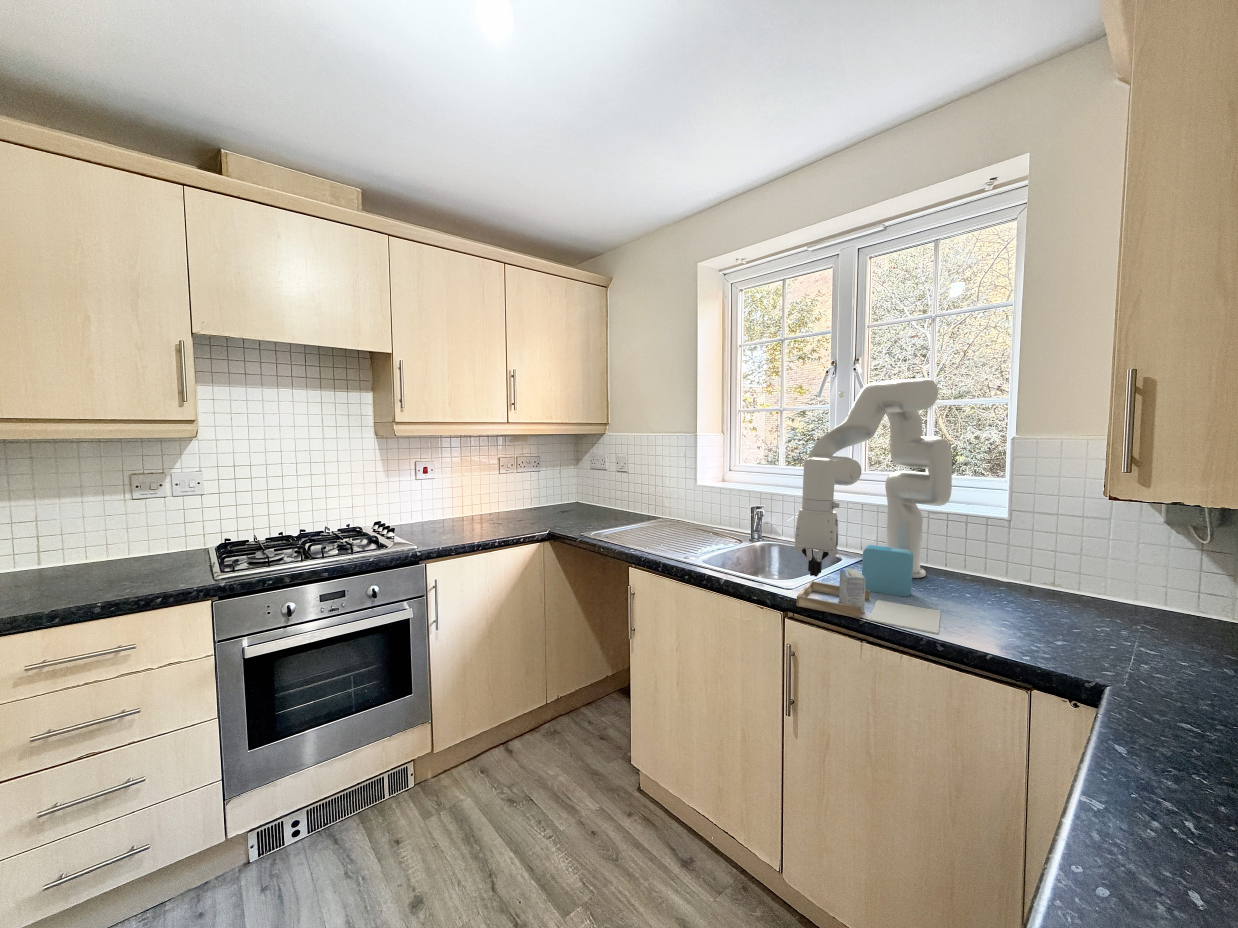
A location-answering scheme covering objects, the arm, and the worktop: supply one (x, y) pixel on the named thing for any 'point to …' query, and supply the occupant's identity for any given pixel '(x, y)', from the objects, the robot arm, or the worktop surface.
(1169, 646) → the worktop surface
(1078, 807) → the worktop surface
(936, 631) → the cream flat board
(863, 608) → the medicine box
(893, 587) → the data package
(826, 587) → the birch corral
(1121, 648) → the worktop surface
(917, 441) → the robot arm
